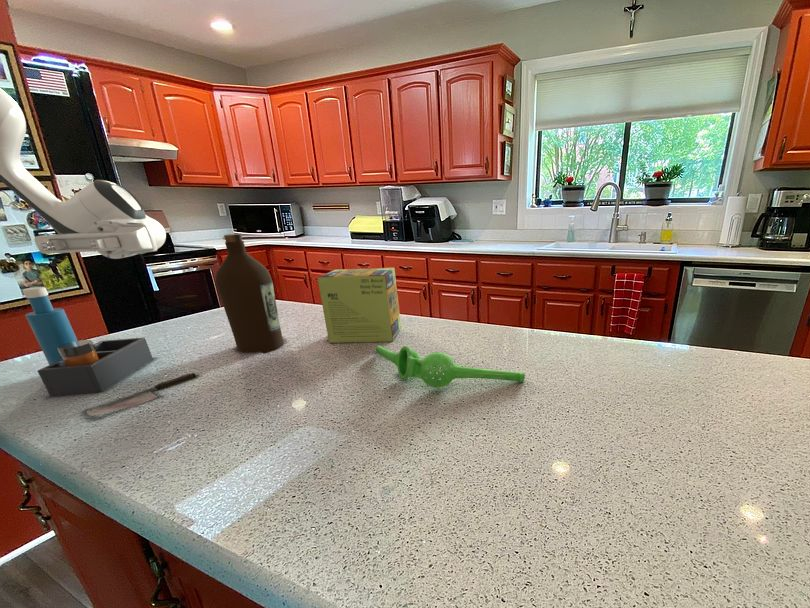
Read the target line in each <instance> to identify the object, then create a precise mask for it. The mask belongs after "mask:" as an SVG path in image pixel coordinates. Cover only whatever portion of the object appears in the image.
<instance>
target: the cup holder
mask: <svg viewBox="0 0 810 608" xmlns="http://www.w3.org/2000/svg"><path fill="white" fill-rule="evenodd" d="M93 344H94V346H95V350H96V353H97V355H98V357H99V360H98V361H96V362H94V363H92V364H90V365H82V366H70V367H67V366H66V364H65V362H64V360H63V359H61V360H59V361H57V362H55V363H53V364H51V365H49V364H48V365H46V366H44V367H42V368H40V369H38V370H37V374H38V376H39V377H40V379H41V381H42V383H43V385H44V387H45V389H46V392H47V393H48V395H49V397H50V398H52V397H63V396H73V395H74V396H75V395H84V394H85V395H86V394H95V393H103V392H105V391H106V390H108V389H110V388H111V387H112V386H114V385H115V384H117V383H119V382H121V381H122V380H124V379H125V378H127V377H128V376H130V375H131V374H133V373H134V372H136V371H138V370H139V369H141V368H143V367H145V366H146V365H147V364H149V363H150V362H152V361H153V360H154V358H153V355H152V352H151V350H150V348H149V345H148V342H147V339H146V337H133V338H118V339H106V340H100V341H97V342H96V343H93Z"/></svg>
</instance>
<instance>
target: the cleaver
mask: <svg viewBox="0 0 810 608" xmlns="http://www.w3.org/2000/svg"><path fill="white" fill-rule="evenodd" d="M196 378H197V374H196V373H194V372H190V373H187V374H183V375H181V376H178V377H175V378H172V379H169V380H167V381H162V382H160V383H157V384H156V385H154V387H152V388H149V389H146V390H144V391H140V392H138V393H135V394H132V395H129V396H126V397H124V398H121V399H118V400H115V401H113V402H109V403H107V404H104V405H101V406H98V407H95V408H92V409H89V410H87V411H86V414H87V415H89V416H94V417H95V416H98V415H102V414H106V413H110V412H114V411H119V410H122V409H126V408H130V407H133V406H138V405H141V404H144V403H147V402H149V401H153V400H154V399H157V398H158V396H157V395H155V394H153V392H156V391H160V390H163V389H167V388H170V387H172V386H175V385H178V384H181V383H184V382H188V381H190V380H193V379H196Z"/></svg>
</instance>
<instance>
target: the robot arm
mask: <svg viewBox="0 0 810 608" xmlns="http://www.w3.org/2000/svg"><path fill="white" fill-rule="evenodd" d="M26 133H27V121H26V117H25V115H24V112H23V110H22V108H21V107H20V105H19V104H18V103H17V102H16V101H15V100H14V99H13V98H12V97H11V96H10V95H9V94H8V93H7V92H6V91H4V89H2V88H1V87H0V182H1V183H2V184H4V185H5V186H6V187H7V188H8V189H9V190H11V191H12V192H13V193H14V194H15V195H16V196H17V197H19V198H20V199H21V200H22V201H23V202H25V203H26V204H27V205H28V206H29V207H30V208H32V210H34V212H36V213H38V215H40V216H41V217H42V218H43V219H44V220H45V222H46V223H48V225H49V226H50V227H51V229H53V230H54V231H55V232H56V233H57V234H56V233H55V234H46V235H45V234H44V235H38V236H35V237H34V238H33V239H34V243H35V245H36V248H37V249H38V251H39V252H40V253H41V254H47V255H48V254H67V253H69V254H70V253H87V252H89V253H90V252H96V253H99V254H100V255H102V256H103V257H106V258H108V259H113V260H117V259H118V260H119V259H124V258H129V257H134V256H136V255H142V254H143V255H144V254H147V253H152V252H158V249H160V248H161V247H162V246H163V245H164V244H165V243H166V240H167V232H166V229H165V227H164V226H163V225H162V224H161V223H160V222H159V221H157V220H156V219H154V218H152V217H150V216H149V215H147V214H146V212H145V210H144V208H143V206H142V204H141V203H140V201H139V200H138V199H137V198H136V197H135V195H133V194H132V193H131V191H129V189H126V188H125V187H123V186H121V185H120V184H117V183H115V182H111V181H108V180H104V179H95V180H93V181H92V182H90V183H89V184H87V185H85V187H83V188H82V189H80V190H79V191H78V192H77V193H75V194H74V195H72V196H71V197H70V198H67V199H66V200H65V201H63V200H60V199H59V198H58V197H56V196H55V194H54V193H52V192H51V191H50V190H48V189H47V187H46V186H45V185H44V184H42V183H41V182H40V181H39V180H38V179H37V178H36V177H34V175H33V174H31V173H30V172H29V171H28V170H27V168H25V165H24V164H23V162H22V158H21V150H22V146H23V144H24V140H25V137H26Z"/></svg>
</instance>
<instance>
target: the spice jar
mask: <svg viewBox="0 0 810 608" xmlns="http://www.w3.org/2000/svg"><path fill="white" fill-rule="evenodd" d="M94 344H95V343H94V342H93V340H92V339H81V340H78V341H74V342H69V343H66V344H63V345H60V346H58V347H57V349H58V351H59V353H60V355H61V356H62V358H63V360H64V362H65V364H66V366H67V367H70V366H82V365H90V364H92V363H94V362H96V361H98V360H99V357H98V355H97V353H96V350H95V346H94Z"/></svg>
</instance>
